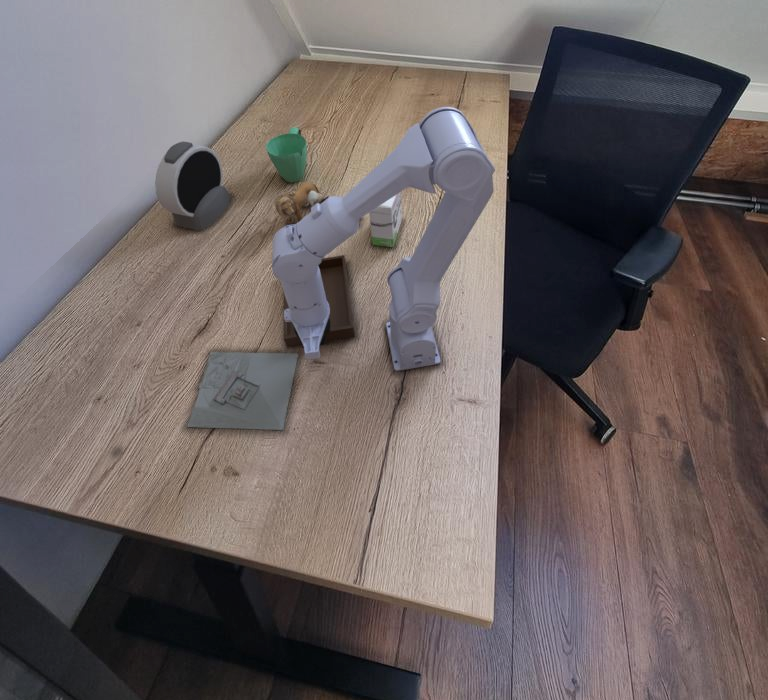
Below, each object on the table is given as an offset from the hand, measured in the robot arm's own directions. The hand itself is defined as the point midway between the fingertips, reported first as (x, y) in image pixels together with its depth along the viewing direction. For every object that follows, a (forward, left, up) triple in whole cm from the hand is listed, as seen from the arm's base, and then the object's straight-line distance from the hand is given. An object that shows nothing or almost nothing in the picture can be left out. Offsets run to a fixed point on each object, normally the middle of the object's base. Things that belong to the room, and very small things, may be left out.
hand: (318, 342), depth 77 cm
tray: (+11, 0, -4) cm, 12 cm away
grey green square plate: (-5, +18, -4) cm, 19 cm away
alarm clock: (+43, +26, -4) cm, 50 cm away
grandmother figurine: (+31, -11, -3) cm, 33 cm away
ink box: (+27, -16, -4) cm, 32 cm away
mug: (+54, +4, -4) cm, 54 cm away
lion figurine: (+36, +2, -4) cm, 36 cm away
